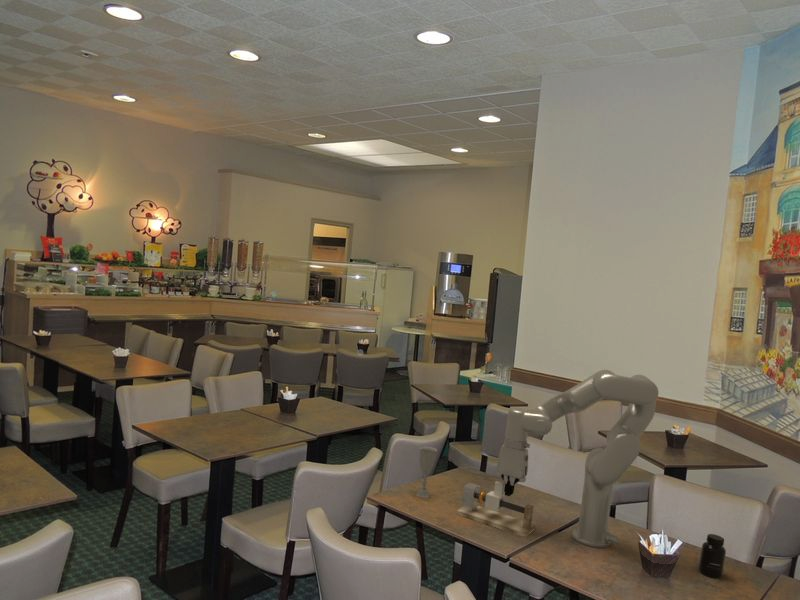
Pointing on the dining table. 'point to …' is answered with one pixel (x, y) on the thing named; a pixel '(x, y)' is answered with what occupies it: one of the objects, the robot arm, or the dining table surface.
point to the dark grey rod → (505, 504)
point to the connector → (471, 497)
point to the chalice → (426, 467)
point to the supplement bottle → (712, 556)
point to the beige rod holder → (502, 519)
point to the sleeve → (495, 497)
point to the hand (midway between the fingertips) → (508, 494)
